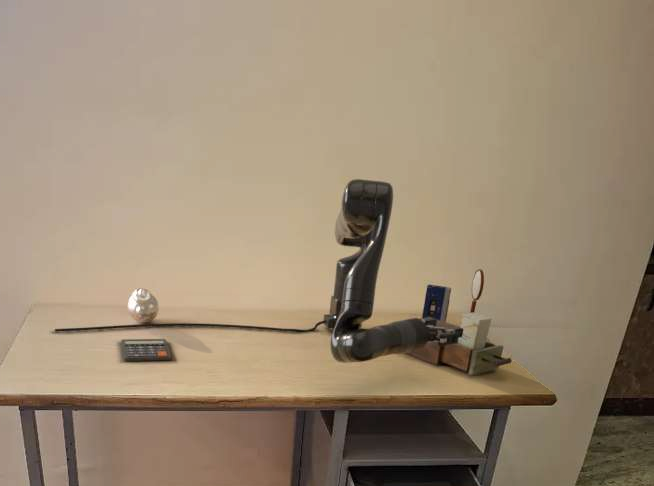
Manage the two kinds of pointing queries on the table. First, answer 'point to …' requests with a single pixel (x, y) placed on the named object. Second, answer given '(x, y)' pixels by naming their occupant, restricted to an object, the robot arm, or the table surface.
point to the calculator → (145, 349)
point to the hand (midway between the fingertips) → (448, 327)
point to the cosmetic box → (474, 331)
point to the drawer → (473, 357)
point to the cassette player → (436, 302)
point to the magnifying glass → (477, 288)
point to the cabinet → (432, 345)
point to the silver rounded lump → (143, 306)
